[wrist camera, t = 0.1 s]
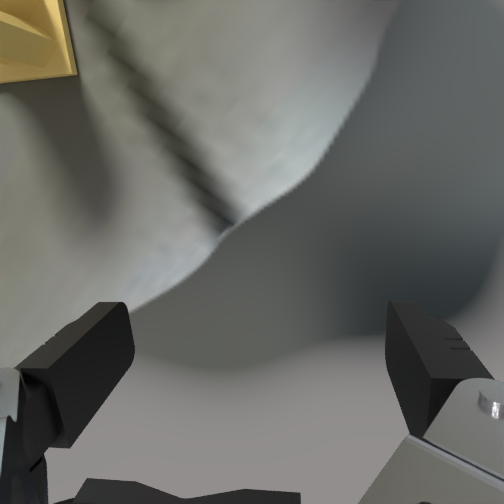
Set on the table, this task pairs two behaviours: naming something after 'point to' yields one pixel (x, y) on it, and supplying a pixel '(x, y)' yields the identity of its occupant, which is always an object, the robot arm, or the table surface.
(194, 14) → the table surface
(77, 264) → the table surface
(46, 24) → the stand base
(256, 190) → the table surface
